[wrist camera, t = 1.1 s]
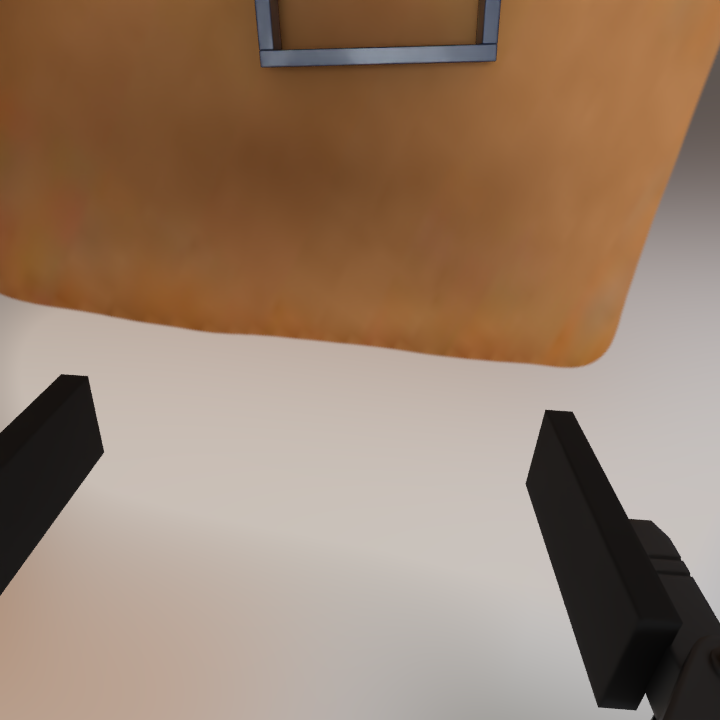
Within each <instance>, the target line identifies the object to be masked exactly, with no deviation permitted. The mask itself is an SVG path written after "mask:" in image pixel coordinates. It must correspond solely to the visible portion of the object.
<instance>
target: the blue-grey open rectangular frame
mask: <svg viewBox="0 0 720 720" xmlns="http://www.w3.org/2000/svg"><path fill="white" fill-rule="evenodd" d="M500 6H501V0H479V4H478V18H477V33H476V44H475V45H439V46H403V47H367V48H331V49H295V50H282V48H281V35H280V22H279V10H278V0H255V10H256V20H257V31H258V41H259V49H260V51H259V52H260V63H261V67H302V66H341V65H379V64H417V63H456V62H491V61H496V55H497V42H498V30H499V18H500Z"/></svg>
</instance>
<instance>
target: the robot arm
mask: <svg viewBox="0 0 720 720" xmlns="http://www.w3.org/2000/svg"><path fill="white" fill-rule="evenodd" d="M103 453H104V450H103V445H102V440H101V435H100V431H99V426H98V421H97V417H96V413H95V407H94V403H93V398H92V393H91V390H90V384H89V379H88V376H78V375H64V374H61V375H60V376H59V377H58V378H57V379H56V380H55V381H54V382H53V383H52V384H51V385H50V386H49V387H48V388H47V389H46V390H45V391H44V392H43V393H41V394H40V395H39V396H38V397H37V398H36V399H35V400H34V401H33V402H32V403H31V404H30V405H29V406H28V407H27V408H26V409H25V410H24V411H23V412H22V413H21V414H20V415H19V416H18V417H16V418H15V419H14V420H13V421H12V422H11V423H10V425H8V426H7V427H6V428H5V429H4V430H3V431H2V432H1V433H0V595H1V594H2V592H3V591H4V590H5V588H6V587H7V586H8V584H9V583H10V581H11V580H12V579H13V577H14V576H15V575H16V573H17V572H18V570H19V569H20V568H21V566H22V565H23V563H24V562H25V560H26V559H27V558H28V556H29V555H30V554H31V552H32V551H33V550H34V548H35V547H36V546H37V544H38V543H39V541H40V540H41V539H42V537H43V536H44V534H45V533H46V531H47V530H48V529H49V528H50V526H51V525H52V523H53V522H54V521H55V519H56V518H57V516H58V515H59V514H60V512H61V511H62V510H63V508H64V507H65V505H66V504H67V503H68V501H69V500H70V499H71V497H72V496H73V494H74V493H75V492H76V490H77V489H78V488H79V486H80V485H81V483H82V482H83V481H84V479H85V478H86V477H87V475H88V474H89V472H90V471H91V470H92V468H93V467H94V465H95V464H96V463H97V461H98V460H99V459H100V457H101V456H102V454H103ZM526 487H527V489H528V492H529V496H530V499H531V502H532V505H533V508H534V511H535V514H536V517H537V520H538V523H539V527H540V529H541V533H542V536H543V539H544V542H545V545H546V548H547V551H548V554H549V557H550V560H551V563H552V567H553V570H554V573H555V576H556V579H557V582H558V585H559V588H560V591H561V594H562V597H563V600H564V604H565V607H566V610H567V613H568V616H569V619H570V622H571V625H572V628H573V631H574V634H575V637H576V640H577V644H578V647H579V650H580V653H581V656H582V659H583V662H584V665H585V668H586V671H587V674H588V677H589V681H590V683H591V687H592V690H593V693H594V696H595V699H596V702H597V705H598V707H602V708H615V709H627V710H637V708H638V706H639V704H640V702H641V700H642V699H643V697H644V694H645V693H646V695H647V698H648V700H649V702H650V705H651V708H652V710H653V713H654V715H653V717H652V719H651V720H720V623H719V621H718V619H717V618H716V616H715V615H714V613H713V611H712V609H711V607H710V606H709V604H708V602H707V601H706V599H705V597H704V596H703V594H702V592H701V590H700V589H699V587H698V585H697V584H696V582H695V580H694V579H693V577H690V572H689V570H688V568H687V567H686V565H685V563H684V562H683V561H681V556H680V555H679V553H678V551H677V550H676V548H675V546H674V545H673V543H672V541H671V540H670V538H669V537H668V536H667V535H666V534H665V533H664V532H663V531H661V529H659V528H658V527H657V526H656V525H655V524H654V523H653V522H652V521H649V520H635V519H628V517H627V515H626V513H625V511H624V509H623V507H622V505H621V504H620V501H619V500H618V498H617V496H616V494H615V492H614V490H613V488H612V486H611V484H610V482H609V481H608V479H607V477H606V475H605V473H604V471H603V469H602V467H601V465H600V463H599V461H598V460H597V458H596V456H595V454H594V452H593V450H592V448H591V446H590V444H589V442H588V440H587V439H586V437H585V435H584V433H583V431H582V429H581V427H580V425H579V424H578V421H577V420H576V418H575V416H574V414H573V412H568V411H553V410H545V414H544V417H543V421H542V425H541V429H540V432H539V436H538V440H537V444H536V447H535V451H534V455H533V458H532V462H531V466H530V470H529V473H528V477H527V481H526Z"/></svg>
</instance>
